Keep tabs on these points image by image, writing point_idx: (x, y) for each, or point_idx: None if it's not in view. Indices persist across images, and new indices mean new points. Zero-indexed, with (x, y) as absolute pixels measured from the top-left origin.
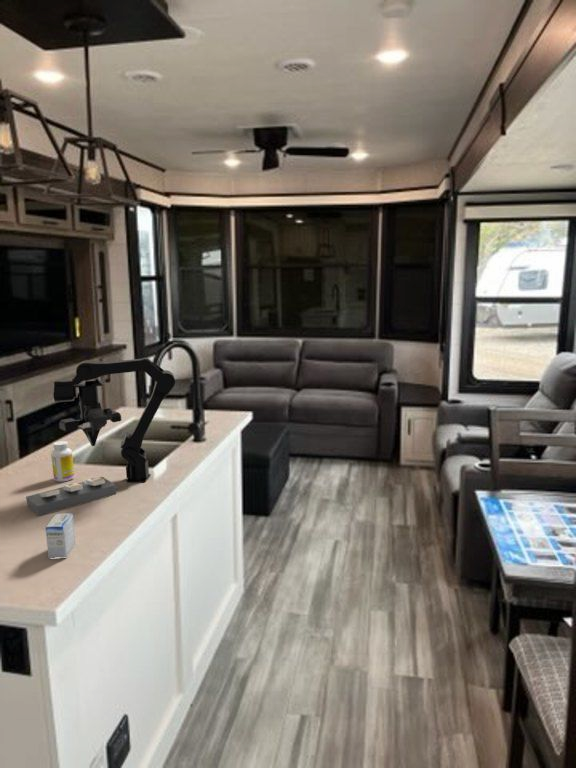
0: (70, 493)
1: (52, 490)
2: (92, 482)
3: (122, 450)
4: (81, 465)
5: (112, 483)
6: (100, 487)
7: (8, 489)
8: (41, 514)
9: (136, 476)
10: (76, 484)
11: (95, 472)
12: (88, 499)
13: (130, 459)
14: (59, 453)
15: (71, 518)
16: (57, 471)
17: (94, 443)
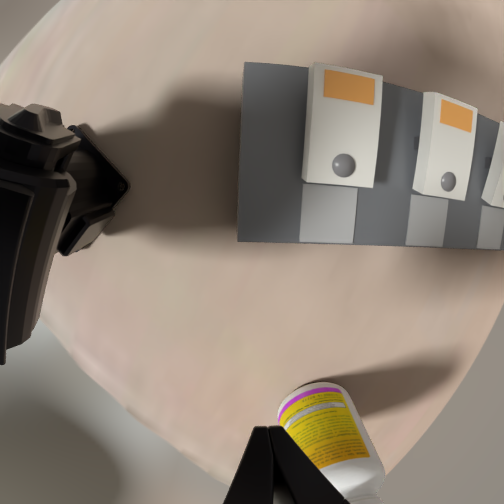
0: None
1: (498, 191)
2: (380, 88)
3: (42, 175)
4: (207, 466)
5: (247, 92)
6: None
7: (445, 401)
8: None
9: (83, 154)
10: (440, 145)
11: (193, 397)
12: None
13: (53, 129)
14: (374, 474)
15: None
16: (359, 417)
17: (263, 443)
